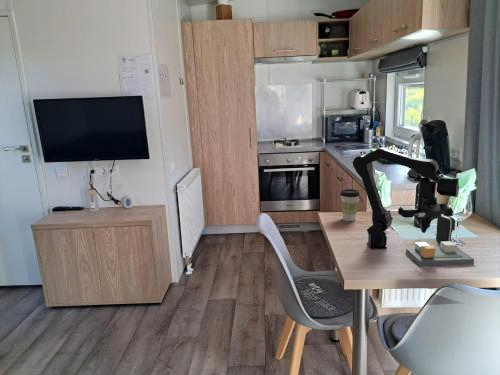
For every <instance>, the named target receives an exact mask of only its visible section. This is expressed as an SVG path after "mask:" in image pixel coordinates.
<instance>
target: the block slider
mask: <svg viewBox="0 0 500 375" xmlns="http://www.w3.org/2000/svg"><path fill="white" fill-rule="evenodd" d="M434 247H435V246H433V245H432V244H431V245H430V244H429V246H421V251H420V255H421V256H423V257H424V258H430V257H435V248H434Z"/></svg>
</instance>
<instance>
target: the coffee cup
mask: <svg viewBox="0 0 500 375" xmlns="http://www.w3.org/2000/svg"><path fill="white" fill-rule="evenodd" d="M339 195H340V201H341V202H340V203H341V214H342V220H343V221H346V222H354V221H356V218H357V214H358V208H359V202H360V200H359V198H360V196H361V193H360V191H359V190H357V189H354V188H345V189H342V190H341V191H340V193H339Z"/></svg>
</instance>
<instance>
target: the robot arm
mask: <svg viewBox="0 0 500 375" xmlns="http://www.w3.org/2000/svg"><path fill="white" fill-rule="evenodd" d="M380 159H381V160H384V161H387V162H390V163H393V164H396V165H399V166H403V167H405V168H409V169H410V170H412V171H414V173H417V174H418V175H417V176H416V177H415V178H414V179H413V181H414V182H419V183H418V194H416V197H417V204H415V208H412V207H410V206H399V208H398V210H397V213H398V215H400V216H401V217H403V218H406V219H407V218H414V217H415V218H416V220H417V223H418V226H419V229H420V232H422V233H423V234H426V232H427V230H428V228H429V226H430V224H431V222H433V220H436V219H438V218H440V217H441V215H444V216H449V217H453V215H454V211H453V208H452V207H449V206H448V204H447V203H438V199H437V198H438V197H436V193H438V194H439V195H440V196H445V197H452V198H453V197H454V198H458V196H459V193H460V192H459V191H460V182H459V177H445V176H444V174H443V172H442V171H441V170H440V168H439V167H440V165H439V163H438V162H437V161H436V160H435V159H431V158H423V157H422V158H421V157H414V156H411V155H407V154H403V153H400V152H397V151H394V150H391V149H388V148H386V147H379V148H376V149H375V150H373V151H372V152H369V153H368V154H365V153H364V154H361V155H358V156H356V157H355V158H354V159H353V161H352V167H353V168H354V170H355V173H357V175H358V176H359V177H360V178H361V181H362V184H363V187H364V190H365V193H366V196H367V199H368V203H369V206H370V208H371V212H372V213H371V214H372V215H371V221H372V222H371V223H372V225H371V226H370V227H368V228H367V229H366V231H367V234H368V235H367V236H368V238H367V242H366V245H367V246H368V248H370V249H371V250H387V249H388V248H387V245H388V243H387V242H388V241H387V240H388V236H387V232H386V231H387V229H389V228H391V225H393V220H394V218H393V217H392V215H391V210H390V209H388V210H386V209H385V207H384V205H383V203H382V202H383V201H382V200H381V199H382V198H381V196H380V193H379V189H378V187H377V184H376V181H375V177H374V173H373V172H374V165H373V163H374V162H376V161H378V160H380Z"/></svg>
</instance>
